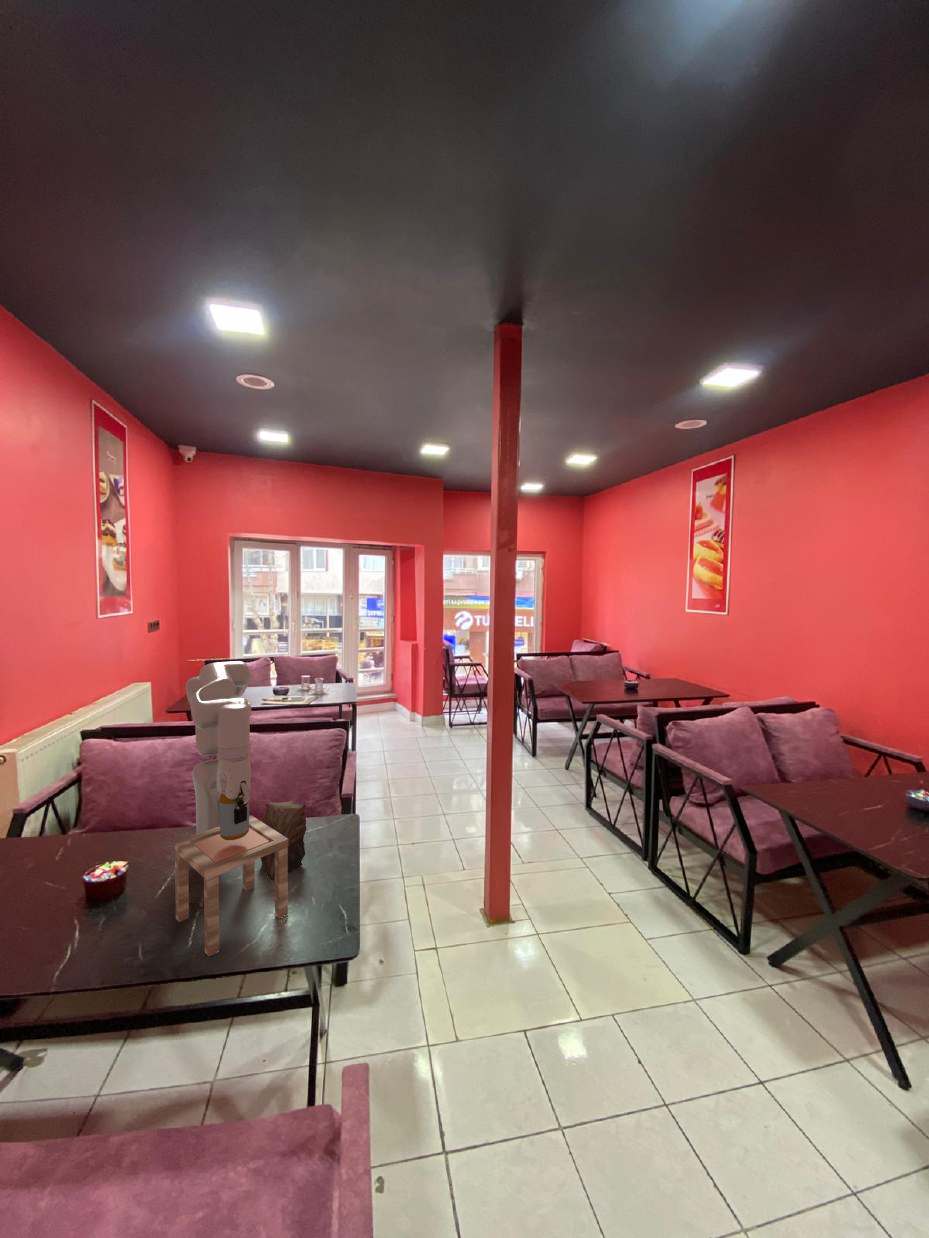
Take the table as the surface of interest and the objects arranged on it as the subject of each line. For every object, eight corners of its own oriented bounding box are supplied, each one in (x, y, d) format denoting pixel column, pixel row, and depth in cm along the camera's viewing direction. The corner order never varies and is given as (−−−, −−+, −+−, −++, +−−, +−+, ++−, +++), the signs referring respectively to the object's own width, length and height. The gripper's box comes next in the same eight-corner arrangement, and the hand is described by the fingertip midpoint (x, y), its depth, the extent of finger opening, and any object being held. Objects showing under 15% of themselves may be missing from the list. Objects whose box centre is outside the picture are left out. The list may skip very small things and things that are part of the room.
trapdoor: (192, 846, 128) (192, 842, 128) (244, 827, 138) (244, 824, 138) (215, 866, 118) (215, 862, 118) (269, 844, 129) (269, 841, 129)
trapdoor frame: (174, 918, 128) (173, 842, 127) (251, 883, 144) (251, 815, 143) (207, 957, 114) (206, 872, 113) (288, 914, 130) (288, 838, 129)
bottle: (255, 830, 129) (254, 776, 128) (234, 843, 122) (234, 785, 122) (234, 826, 131) (234, 772, 130) (213, 838, 124) (213, 781, 124)
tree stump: (257, 863, 155) (257, 803, 154) (296, 850, 163) (296, 793, 162) (269, 881, 145) (269, 817, 144) (310, 867, 153) (310, 806, 152)
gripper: (205, 747, 128) (206, 812, 129) (234, 762, 117) (235, 834, 118) (233, 741, 134) (234, 804, 135) (264, 755, 123) (264, 823, 124)
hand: (234, 817), depth 127 cm, fingers closed on bottle, 6 cm apart
